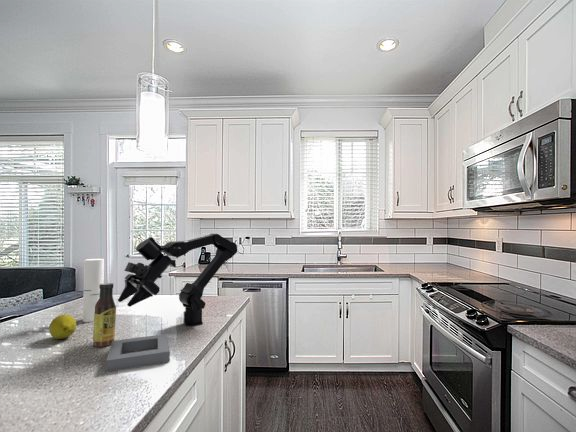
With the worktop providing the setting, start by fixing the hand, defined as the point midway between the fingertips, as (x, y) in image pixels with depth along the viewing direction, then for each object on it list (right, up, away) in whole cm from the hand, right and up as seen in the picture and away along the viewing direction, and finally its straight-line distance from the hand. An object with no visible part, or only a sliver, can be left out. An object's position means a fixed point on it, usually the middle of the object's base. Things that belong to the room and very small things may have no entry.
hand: (123, 303), depth 109 cm
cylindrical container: (-25, -13, +23) cm, 37 cm away
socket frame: (+12, -12, -14) cm, 22 cm away
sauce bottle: (-4, -12, -4) cm, 14 cm away
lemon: (-22, -13, +1) cm, 25 cm away
